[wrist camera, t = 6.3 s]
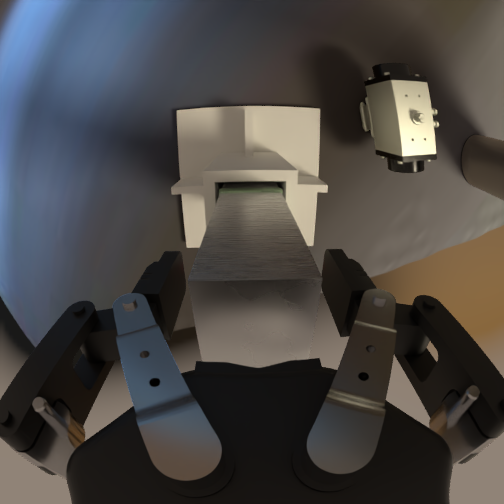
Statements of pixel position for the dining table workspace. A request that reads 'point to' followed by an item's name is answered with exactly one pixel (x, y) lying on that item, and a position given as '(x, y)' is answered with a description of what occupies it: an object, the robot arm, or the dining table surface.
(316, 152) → the stand base
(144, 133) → the dining table surface
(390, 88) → the pneumatic valve
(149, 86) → the dining table surface
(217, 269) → the column
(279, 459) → the robot arm
